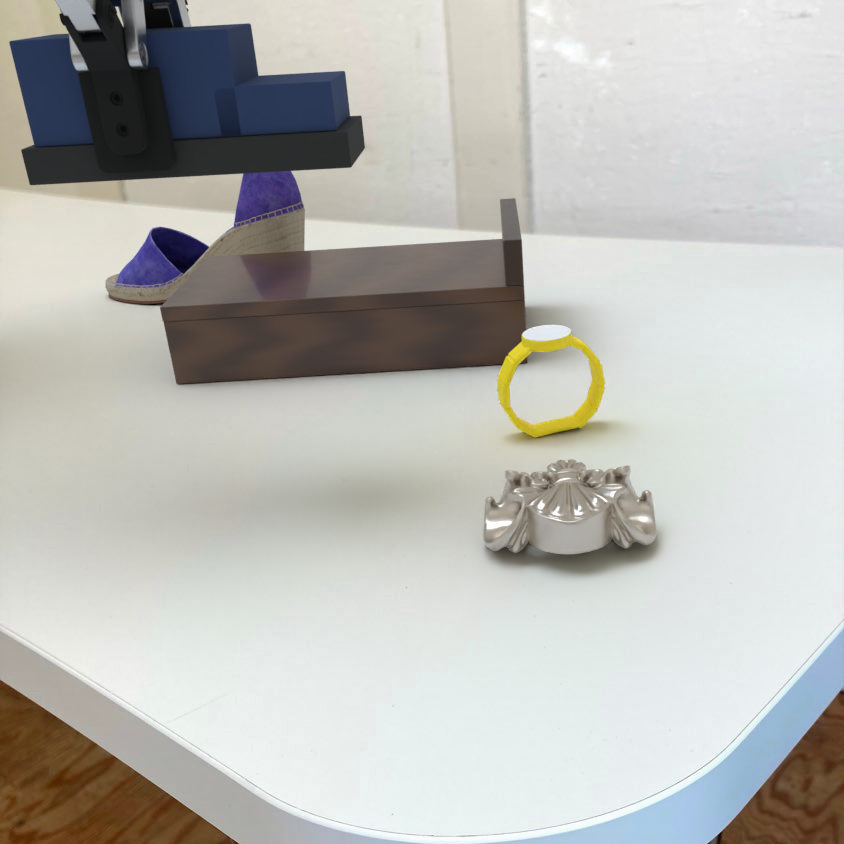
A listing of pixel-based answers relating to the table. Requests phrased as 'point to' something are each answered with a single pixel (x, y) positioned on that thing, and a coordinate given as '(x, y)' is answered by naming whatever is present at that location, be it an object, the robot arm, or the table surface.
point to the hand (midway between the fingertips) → (158, 154)
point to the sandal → (252, 234)
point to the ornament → (569, 510)
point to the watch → (547, 341)
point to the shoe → (192, 110)
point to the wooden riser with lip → (350, 309)
